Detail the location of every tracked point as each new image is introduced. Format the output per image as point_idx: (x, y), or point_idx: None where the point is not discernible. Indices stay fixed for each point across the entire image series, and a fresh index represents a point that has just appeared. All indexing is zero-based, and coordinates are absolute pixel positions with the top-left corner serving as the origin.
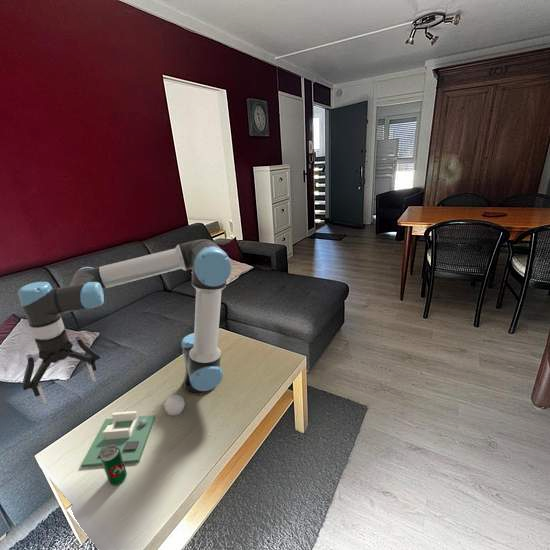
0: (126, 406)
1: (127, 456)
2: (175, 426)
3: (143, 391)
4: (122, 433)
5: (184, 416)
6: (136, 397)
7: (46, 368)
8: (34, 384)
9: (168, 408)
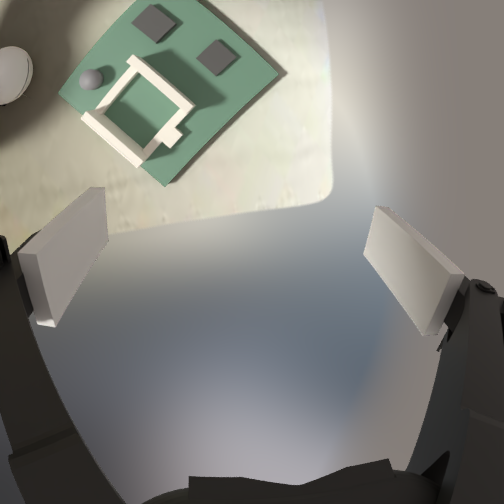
0: None
1: (177, 3)
2: (45, 27)
3: None
4: (150, 67)
5: (16, 46)
6: None
7: (468, 402)
8: (489, 299)
9: (17, 58)
